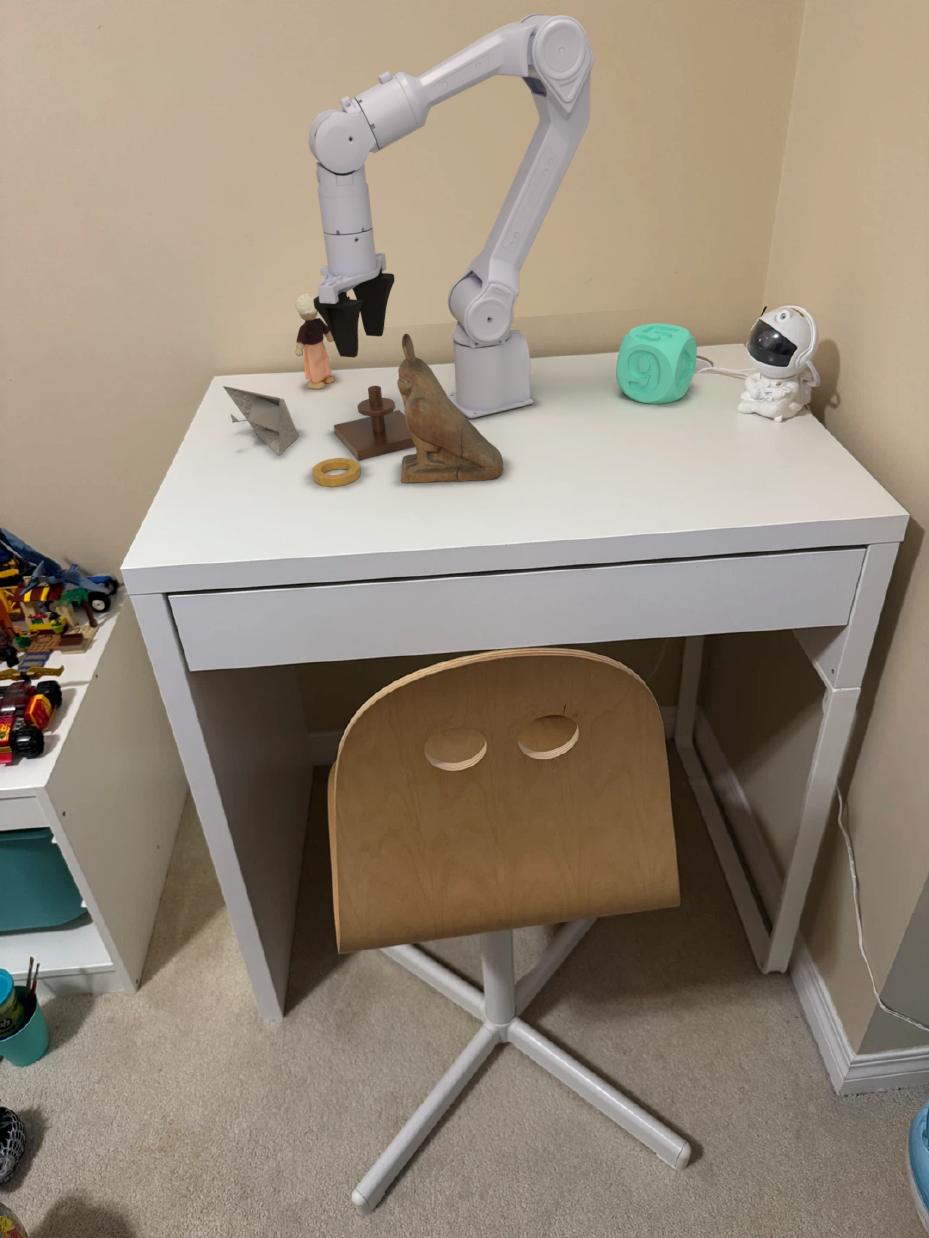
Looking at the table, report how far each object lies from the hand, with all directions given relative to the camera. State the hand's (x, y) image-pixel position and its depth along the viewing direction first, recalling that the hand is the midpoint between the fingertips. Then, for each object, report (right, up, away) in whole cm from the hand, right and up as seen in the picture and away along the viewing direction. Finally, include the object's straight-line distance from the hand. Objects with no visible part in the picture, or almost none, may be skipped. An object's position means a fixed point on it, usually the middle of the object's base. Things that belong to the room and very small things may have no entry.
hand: (361, 345), depth 112 cm
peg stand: (+2, -11, +1) cm, 12 cm away
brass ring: (-2, -17, -7) cm, 19 cm away
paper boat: (-13, -11, +3) cm, 17 cm away
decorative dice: (+38, -4, +8) cm, 39 cm away
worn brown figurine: (+11, -17, -7) cm, 22 cm away
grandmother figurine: (-8, -1, +17) cm, 19 cm away
